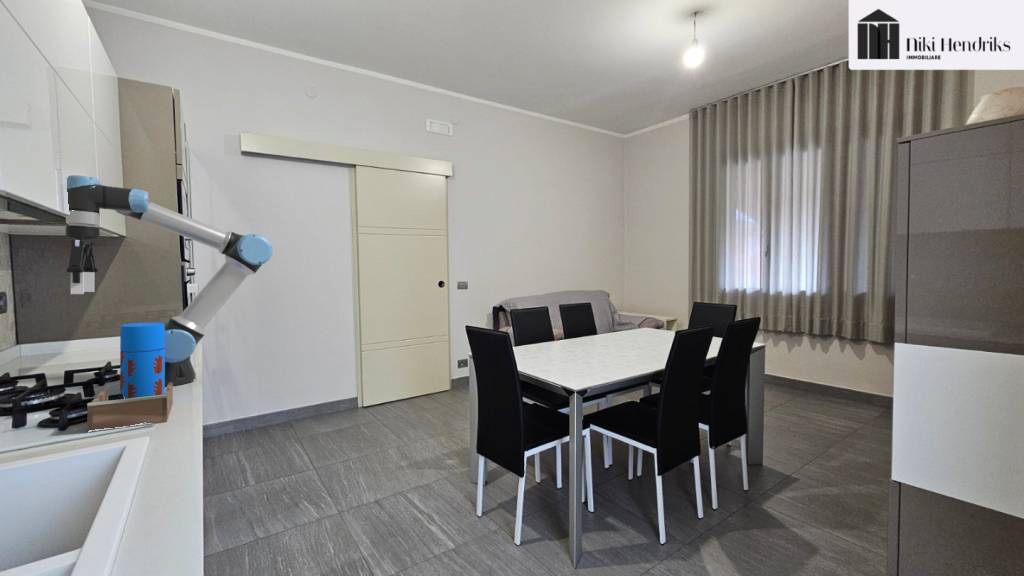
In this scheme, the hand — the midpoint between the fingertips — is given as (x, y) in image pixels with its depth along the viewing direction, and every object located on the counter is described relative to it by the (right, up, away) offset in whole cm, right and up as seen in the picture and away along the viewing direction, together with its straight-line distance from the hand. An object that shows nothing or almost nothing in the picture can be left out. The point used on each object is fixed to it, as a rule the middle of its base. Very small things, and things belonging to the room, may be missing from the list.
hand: (83, 293), depth 133 cm
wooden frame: (+27, -36, -12) cm, 46 cm away
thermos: (+17, -35, +2) cm, 39 cm away
